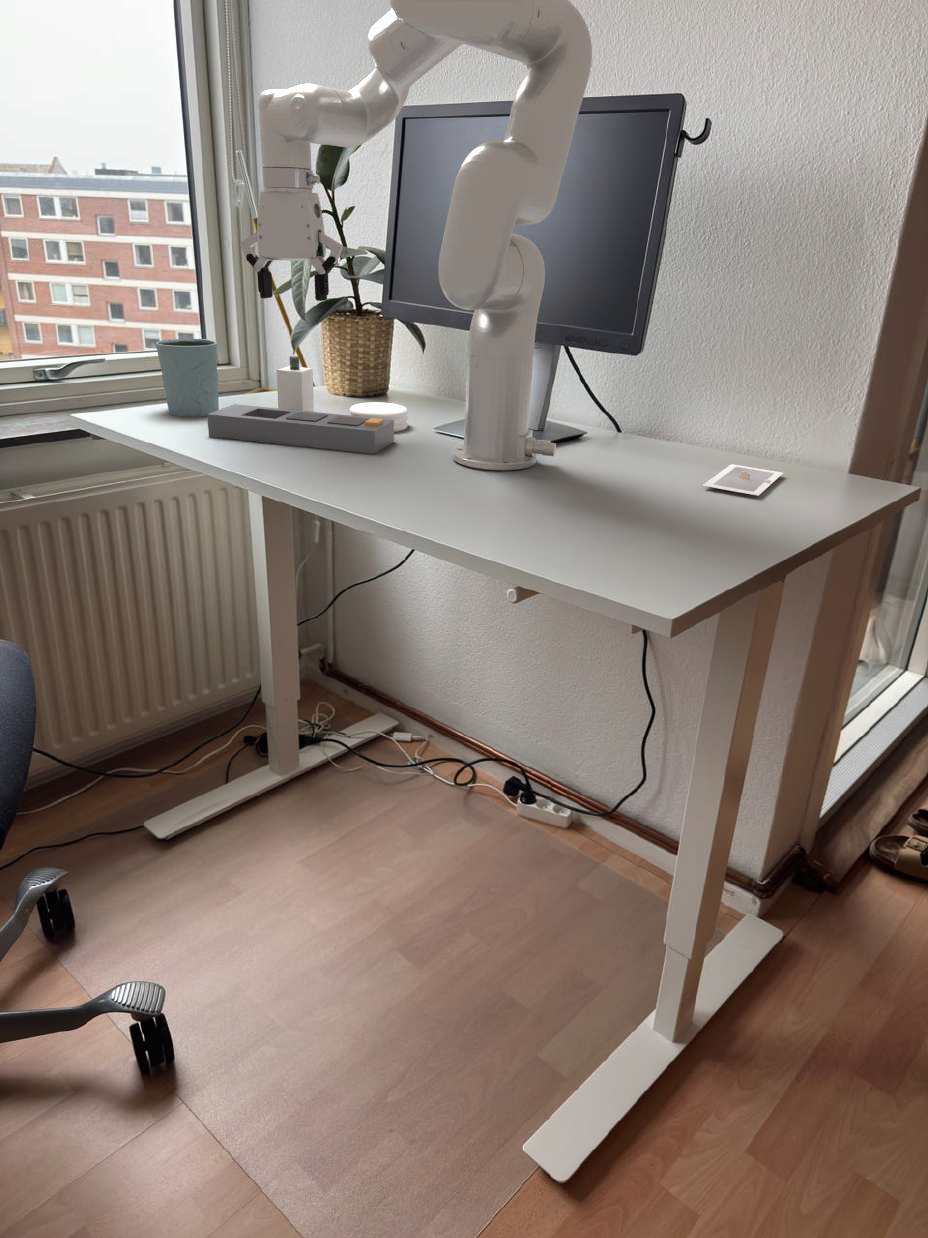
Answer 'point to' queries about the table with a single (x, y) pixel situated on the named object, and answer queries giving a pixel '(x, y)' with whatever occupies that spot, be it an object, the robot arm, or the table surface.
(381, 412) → the coaster
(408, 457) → the table surface
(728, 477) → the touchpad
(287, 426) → the power strip
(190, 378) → the blue-grey tapered cup
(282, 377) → the charger
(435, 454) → the table surface
